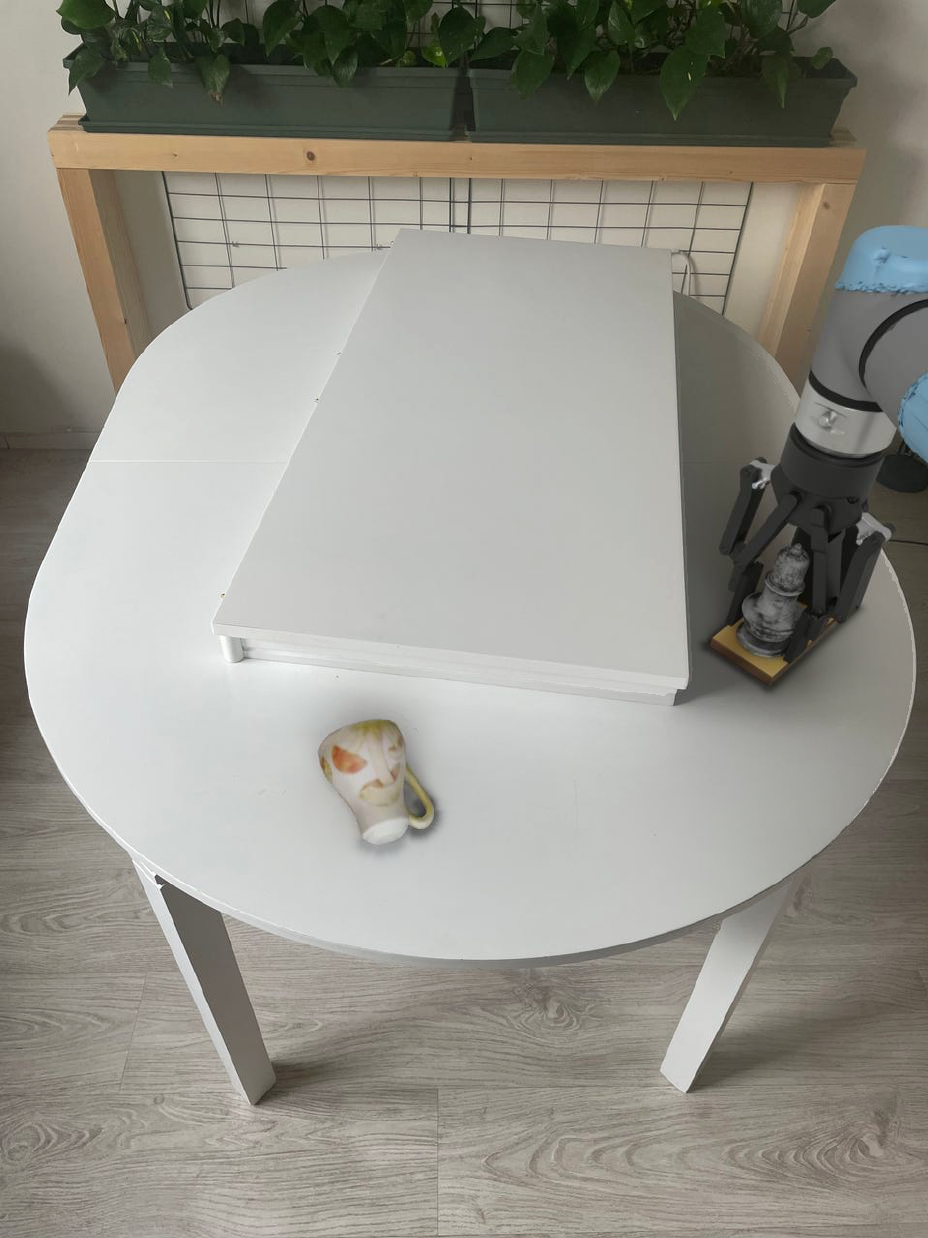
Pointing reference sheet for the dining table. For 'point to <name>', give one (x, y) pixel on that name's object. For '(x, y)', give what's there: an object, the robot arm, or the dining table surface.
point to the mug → (373, 778)
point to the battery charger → (805, 541)
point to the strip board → (754, 664)
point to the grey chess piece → (775, 606)
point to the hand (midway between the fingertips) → (764, 635)
